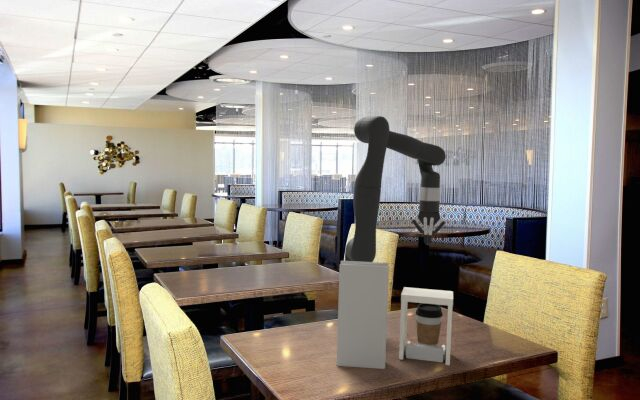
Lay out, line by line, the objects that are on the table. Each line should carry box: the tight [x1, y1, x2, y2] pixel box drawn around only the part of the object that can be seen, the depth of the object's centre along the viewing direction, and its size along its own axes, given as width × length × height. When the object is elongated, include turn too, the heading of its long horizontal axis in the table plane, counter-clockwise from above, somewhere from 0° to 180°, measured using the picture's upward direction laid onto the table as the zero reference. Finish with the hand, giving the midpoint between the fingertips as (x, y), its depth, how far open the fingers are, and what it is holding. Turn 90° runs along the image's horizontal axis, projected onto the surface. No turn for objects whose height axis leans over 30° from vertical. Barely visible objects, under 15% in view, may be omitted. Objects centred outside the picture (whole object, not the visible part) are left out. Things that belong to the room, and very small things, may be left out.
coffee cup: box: [415, 303, 444, 347], centre depth 162 cm, size 8×8×15 cm
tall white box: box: [336, 260, 390, 370], centre depth 151 cm, size 14×6×30 cm, turn 84°
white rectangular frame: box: [398, 286, 454, 366], centre depth 160 cm, size 15×13×20 cm
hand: (427, 244), depth 196 cm, fingers closed
